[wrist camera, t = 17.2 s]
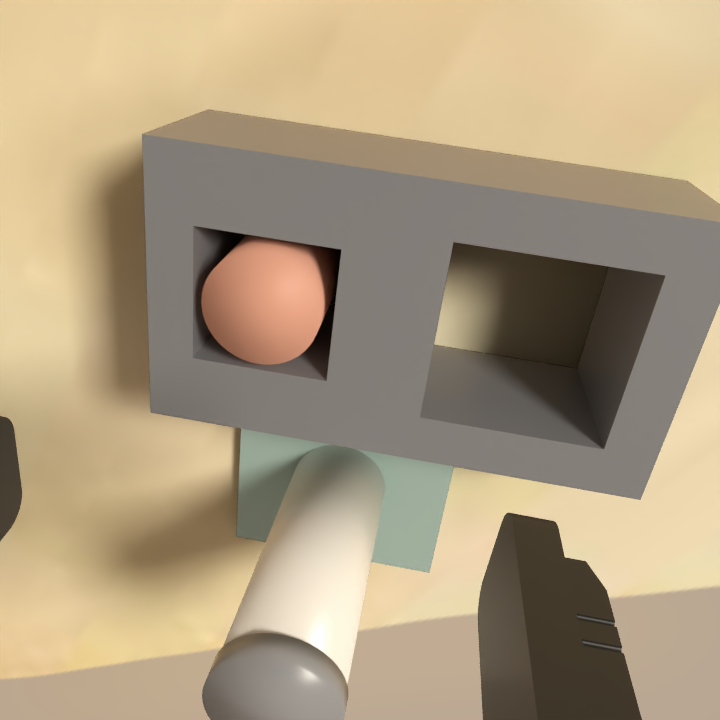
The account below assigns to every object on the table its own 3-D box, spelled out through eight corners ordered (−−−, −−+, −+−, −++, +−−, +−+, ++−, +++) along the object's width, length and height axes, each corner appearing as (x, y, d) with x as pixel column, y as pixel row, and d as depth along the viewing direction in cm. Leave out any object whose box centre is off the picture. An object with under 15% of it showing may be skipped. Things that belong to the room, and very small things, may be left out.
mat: (239, 528, 35) (236, 536, 35) (246, 379, 31) (242, 385, 30) (429, 564, 34) (429, 572, 34) (463, 417, 30) (463, 424, 30)
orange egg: (249, 291, 28) (200, 354, 23) (253, 197, 27) (202, 242, 21) (341, 306, 28) (314, 373, 23) (353, 213, 26) (325, 262, 21)
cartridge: (289, 512, 33) (202, 740, 23) (294, 435, 31) (201, 646, 21) (381, 529, 33) (336, 770, 22) (392, 452, 31) (349, 676, 20)
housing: (204, 343, 30) (150, 412, 25) (208, 109, 26) (142, 134, 20) (607, 411, 29) (640, 499, 24) (687, 180, 24) (750, 226, 19)
